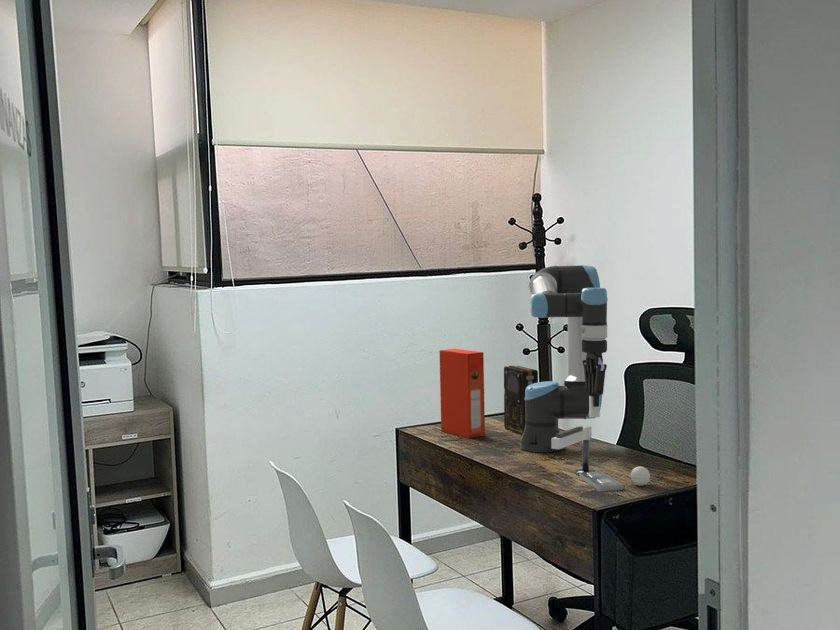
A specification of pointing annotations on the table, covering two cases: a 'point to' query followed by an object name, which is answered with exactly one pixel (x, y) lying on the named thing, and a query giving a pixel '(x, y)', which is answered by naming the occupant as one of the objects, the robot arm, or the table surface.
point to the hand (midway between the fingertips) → (594, 416)
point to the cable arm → (571, 437)
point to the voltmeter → (516, 396)
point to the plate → (600, 481)
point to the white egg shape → (640, 476)
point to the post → (585, 458)
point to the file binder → (462, 392)
